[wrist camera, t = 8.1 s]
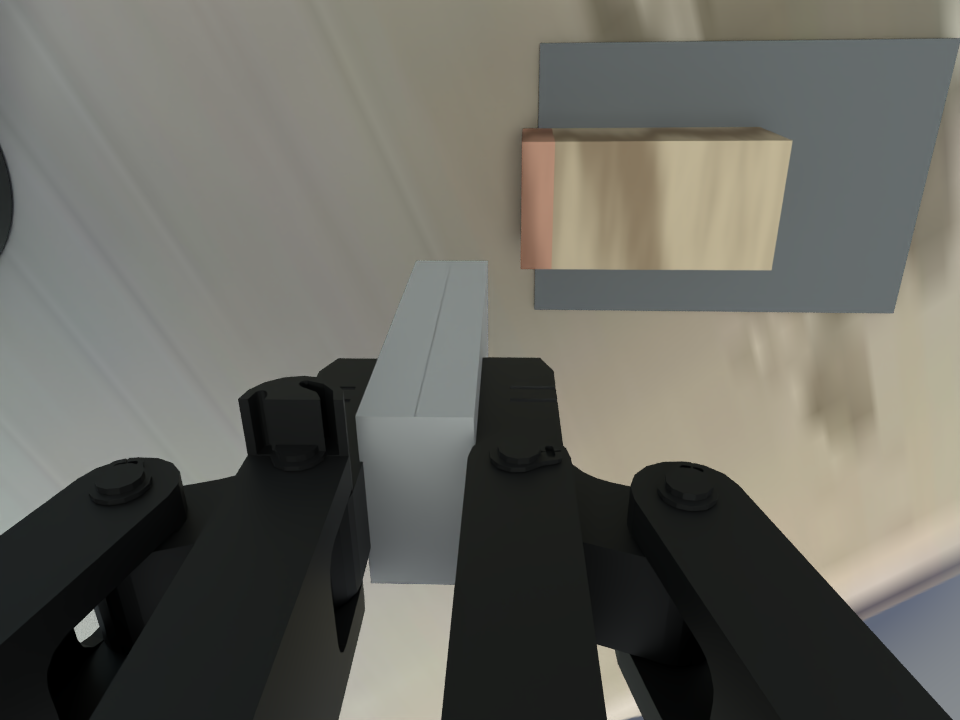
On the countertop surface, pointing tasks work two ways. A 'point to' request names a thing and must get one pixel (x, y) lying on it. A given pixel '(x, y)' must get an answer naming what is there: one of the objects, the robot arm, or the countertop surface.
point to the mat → (812, 166)
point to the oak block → (652, 198)
